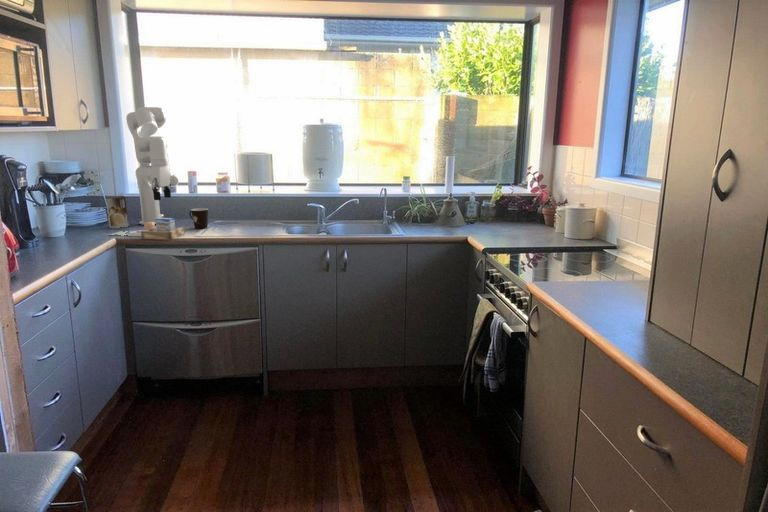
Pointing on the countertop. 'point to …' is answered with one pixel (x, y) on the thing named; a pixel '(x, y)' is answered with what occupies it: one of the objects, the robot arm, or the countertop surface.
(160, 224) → the medicine box
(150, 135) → the robot arm
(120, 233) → the board
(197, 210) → the coffee mug
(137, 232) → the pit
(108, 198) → the coffee box
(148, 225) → the peach rounded capsule
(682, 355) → the countertop surface
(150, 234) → the cubby
